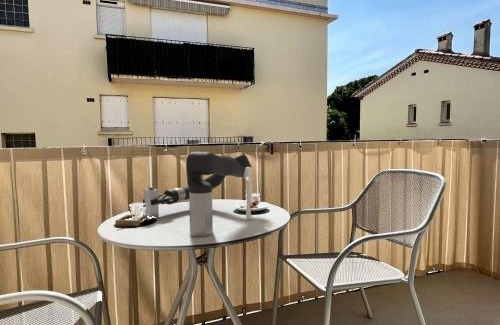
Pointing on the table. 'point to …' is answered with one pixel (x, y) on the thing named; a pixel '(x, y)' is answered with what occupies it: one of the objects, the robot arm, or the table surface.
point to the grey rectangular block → (149, 196)
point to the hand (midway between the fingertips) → (147, 202)
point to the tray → (129, 221)
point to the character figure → (248, 191)
